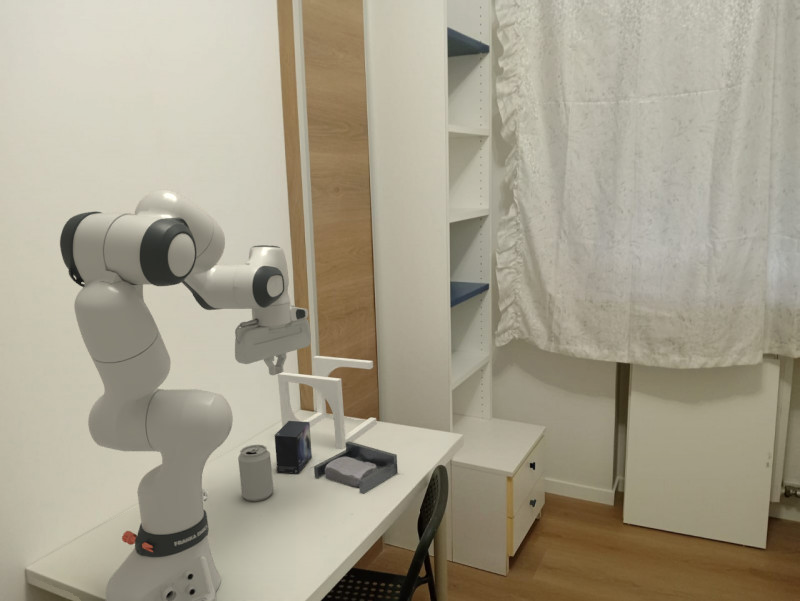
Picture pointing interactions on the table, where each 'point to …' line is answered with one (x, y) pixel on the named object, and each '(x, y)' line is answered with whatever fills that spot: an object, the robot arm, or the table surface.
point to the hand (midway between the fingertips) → (276, 373)
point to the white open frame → (325, 396)
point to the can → (255, 472)
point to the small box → (293, 447)
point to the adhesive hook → (204, 494)
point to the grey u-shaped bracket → (380, 458)
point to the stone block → (348, 470)
